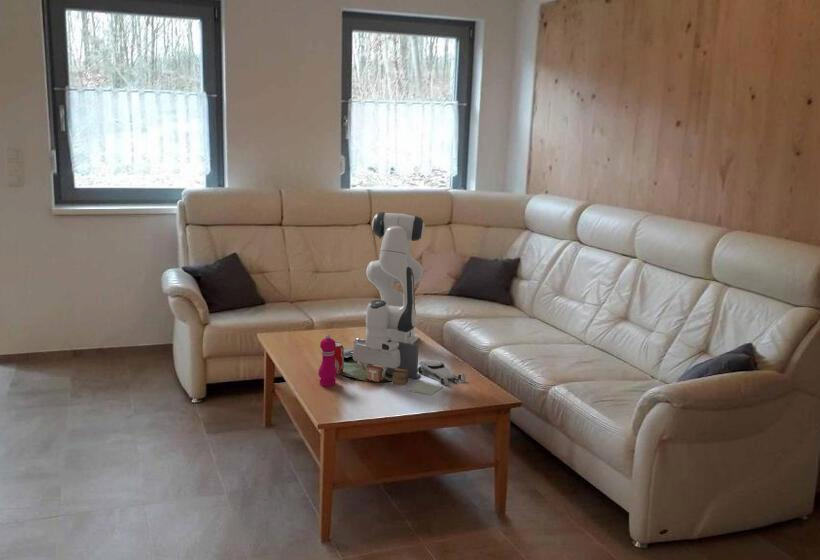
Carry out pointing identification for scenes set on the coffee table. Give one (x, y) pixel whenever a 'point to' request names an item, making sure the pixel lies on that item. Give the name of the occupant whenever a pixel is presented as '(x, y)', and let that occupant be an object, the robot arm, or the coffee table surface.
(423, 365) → the car model
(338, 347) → the soda can
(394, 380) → the walnut block
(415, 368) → the screen
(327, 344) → the pepper mill
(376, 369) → the letter block
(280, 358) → the coffee table surface
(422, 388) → the felt mat
